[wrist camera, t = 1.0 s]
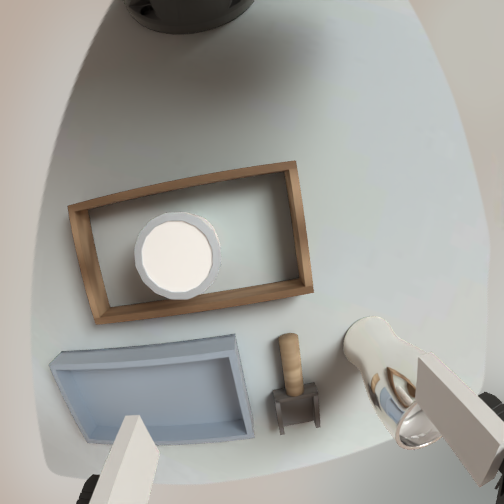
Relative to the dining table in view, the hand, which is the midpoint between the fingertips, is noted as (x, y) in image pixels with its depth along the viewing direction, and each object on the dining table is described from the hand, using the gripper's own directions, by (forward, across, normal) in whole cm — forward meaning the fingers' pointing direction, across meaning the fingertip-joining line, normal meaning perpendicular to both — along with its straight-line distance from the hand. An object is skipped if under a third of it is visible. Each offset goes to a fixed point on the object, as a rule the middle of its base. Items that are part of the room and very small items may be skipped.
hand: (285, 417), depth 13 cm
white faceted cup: (+20, -6, +6) cm, 21 cm away
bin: (+19, -14, -10) cm, 26 cm away
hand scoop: (+19, +2, -13) cm, 23 cm away
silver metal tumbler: (+19, +11, -9) cm, 24 cm away
